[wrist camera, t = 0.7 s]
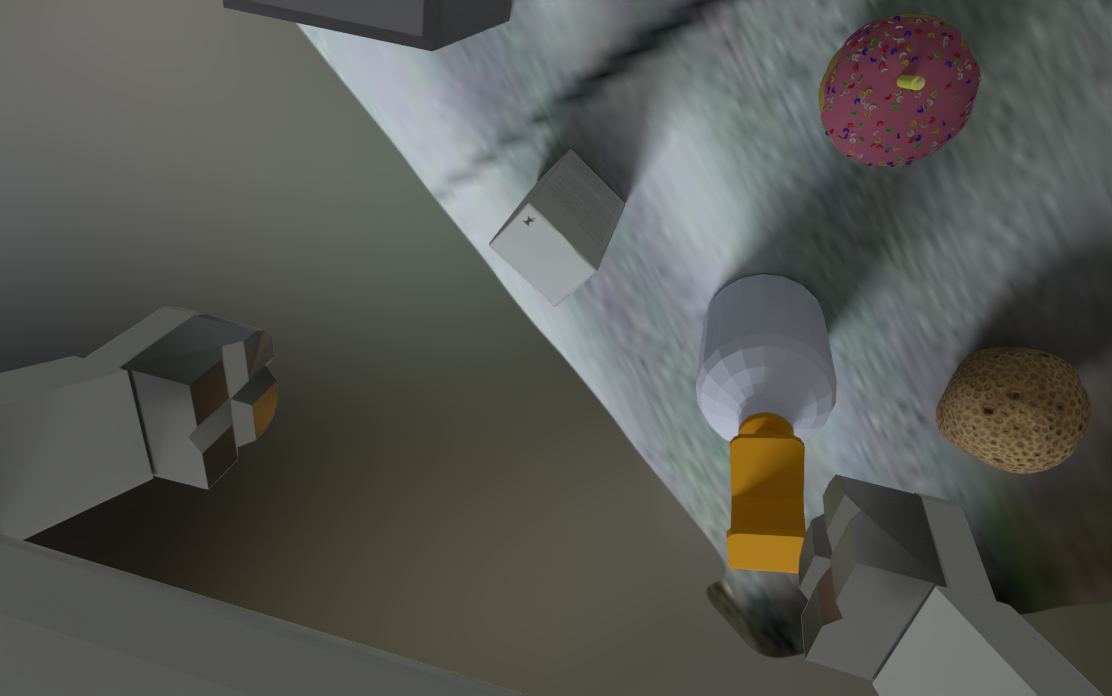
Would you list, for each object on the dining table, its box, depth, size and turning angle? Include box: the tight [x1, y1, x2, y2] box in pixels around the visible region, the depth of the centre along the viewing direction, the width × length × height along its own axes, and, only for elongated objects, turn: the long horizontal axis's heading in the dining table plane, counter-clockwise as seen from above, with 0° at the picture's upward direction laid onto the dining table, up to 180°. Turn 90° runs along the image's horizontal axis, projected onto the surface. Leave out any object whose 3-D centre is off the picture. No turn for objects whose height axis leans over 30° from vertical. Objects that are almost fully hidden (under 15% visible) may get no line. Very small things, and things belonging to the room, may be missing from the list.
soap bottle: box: [696, 274, 837, 573], centre depth 45 cm, size 9×9×25 cm
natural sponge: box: [936, 346, 1092, 474], centre depth 49 cm, size 9×9×10 cm
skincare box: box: [489, 149, 625, 306], centre depth 49 cm, size 6×4×12 cm
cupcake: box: [819, 13, 981, 167], centre depth 40 cm, size 9×8×12 cm
